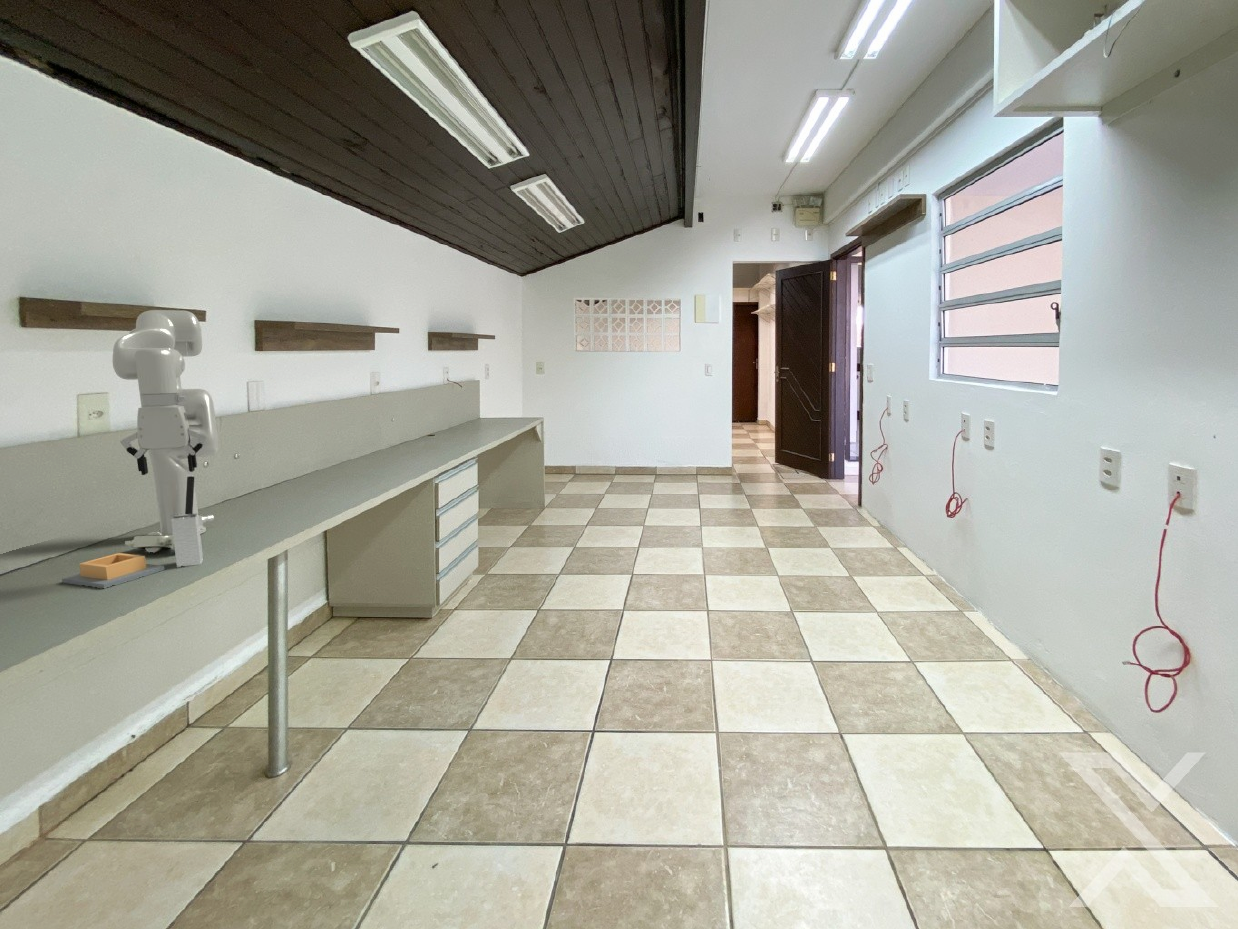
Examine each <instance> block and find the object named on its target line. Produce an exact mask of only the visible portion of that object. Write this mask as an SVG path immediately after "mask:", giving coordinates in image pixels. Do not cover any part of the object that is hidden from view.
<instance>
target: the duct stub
mask: <svg viewBox="0 0 1238 929" xmlns="http://www.w3.org/2000/svg"><path fill="white" fill-rule="evenodd" d="M198 515H199V512H198V513H196V514H185V515H175V516H174V517H173V518H172V519H171V522H172V530H173V538H174V547H175V549H174V553H175V562H176V568H182V567H181V566H185V567H191V566H192V567H193V566H200V565H202V563H203V560H204V554H203V546H202V536H201V534H200V527H199V519H198Z"/></svg>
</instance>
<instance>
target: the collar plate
mask: <svg viewBox="0 0 1238 929" xmlns="http://www.w3.org/2000/svg"><path fill="white" fill-rule="evenodd" d="M78 565H79V566H78V567H79V573H76V574H73V575H70V576H66V577H62V578H61V581H62V583H63V584H69V585H76V586H82V585H85V586H84V587H88V586H92V587H91V588H95V587H97V589H102V588H104V589H108V588H107V587H109V588H111V587H110V586H112V585H115V586H118V585H122V584H124V583H127V581H128V582H131V581H134V580H138V579H140V578H139V577H141V578H143V577H142V576H144V577H147V576H150V575H152V574H156V573H160V572H162V571H165V566H164V565H159V564H152V563H151V564H149V563H147V562H146V556H145V555H140V554H139V555H138V554H130V553H122V552H117V553H114V554H110V555H106V556H103V557H99V558H95V559H91V560H87V561H84V562H81V563H78ZM159 571H160V572H159ZM112 587H113V586H112ZM104 589H103V590H104Z"/></svg>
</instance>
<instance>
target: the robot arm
mask: <svg viewBox="0 0 1238 929" xmlns="http://www.w3.org/2000/svg"><path fill="white" fill-rule="evenodd" d="M112 350H113V351H112V367H113V369H114V370H113V371H114V372H115V374H116V375H117V376H118V377H119V378H121V379H122V380H123V379H124V380H127V381H128V380H130V381H133V380H134V381H135V380H136V381H137V383H138V384H137V385H138V391H139V400H140V406H141V407H138V410H137V416H136V418H137V422H136V423H137V424H136V425H137V426H136V428H137V430H136V432H135V433H133V434H131V435H129V436H127V437H124V438H123V439H121V440H120V444H121V445H122V446H123V448H124V449H125V450H126V452H127V453H128V454H130V455H131V456H133V457H134V458H135V459H136V461H137V470H138V472H141V474H140V475H141V476H145V475H147V474H149V468H148V462H147V461H148V460H147V457H146V456H145V454H146V453H147V452H148V455H149V459H150V463H151V467H152V468H151V469H152V473H153V474H152V475H153V479H154V487H155V494H156V503H157V511H158V519H159V527H160V530H158V531H157V532H159V533H161V534H162V535H168V536H172V535H173V530H172V522H171V519H172V518H173V517H174V516H175V515H185V508H186V490H187V477H189V476H193V477H194V478H195V476H194V473H193V472H195V469H196V468H198V463H197V462H198V461H197V458H204V457H205V458H207V457H211V456H214V455H216V454H217V453H218V451H219V435H218V428H217V422H216V419H217V418H216V414H215V412H216V411H215V407H214V402H213V398H212V395H211V394H210V393H209V391H207V390H206V389H204V388H203V389H202V388H185V389H184V388H182V383H181V375H182V374H183V373H184V371H185V368H186V365H185V364H186V363H185V358H184V357H187V358H188V357H196V356H199V355H200V354H201V352H202V350H203V338H202V329H201V325H200V322H199V319H198V317H197V316H196V315H195V314H194V313H193V312H191V311H188V310H177V309H176V310H175V309H174V310H172V309H171V310H168V309H167V310H165V309H163V310H162V309H151V310H146V311H144V312H142V313H140V314H139V315H138V316H137V318H136V322H135V328H133V329H132V330H130V331H129V333H128V334H125V335H124V336H121V337H119V338H118V339H117V340H116V341H115V343H114V345H113V349H112ZM191 422H194V423H196V424H189V423H191ZM135 440H137V442H138V447H139V449H137V448H135V447H134V446H133V445H132V444H131V443H132V442H133V441H135ZM185 459H187V464H188V465H187V464H185V463H184V462H183V461H182V460H185ZM196 513H198V519H199V527H200V535H202V534H204V533H206V531H207V526H205V524H206V523H210V522H213V521H214V520H215V516H214V515H213V514H208V515H204V516H203V515H199V510H198V500H197V493H196V484H195V482H194V496H193V514H196Z"/></svg>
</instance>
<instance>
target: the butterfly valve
mask: <svg viewBox="0 0 1238 929" xmlns="http://www.w3.org/2000/svg"><path fill="white" fill-rule="evenodd" d="M194 483H195V476H194V477H193V476H189V477H187V490H186V508H185V514H193V496H194ZM124 545H125V546H131V547H132V548H133V549H138V550H146V552H147V553H150V552H153V553H158V552H160V551H161V550H162V549H163V550H165V549H166V548H167V549H170V548H173V549H174V550H175V547H174V538H173V535H172V536H168V535H162V534H161V533H159V532H158V531H151V532H149V533H147V535H146V534H145V535H143V534H142V535H138V536H137V535H136V536H134V537H133V539H132V540H125V541H124Z"/></svg>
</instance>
